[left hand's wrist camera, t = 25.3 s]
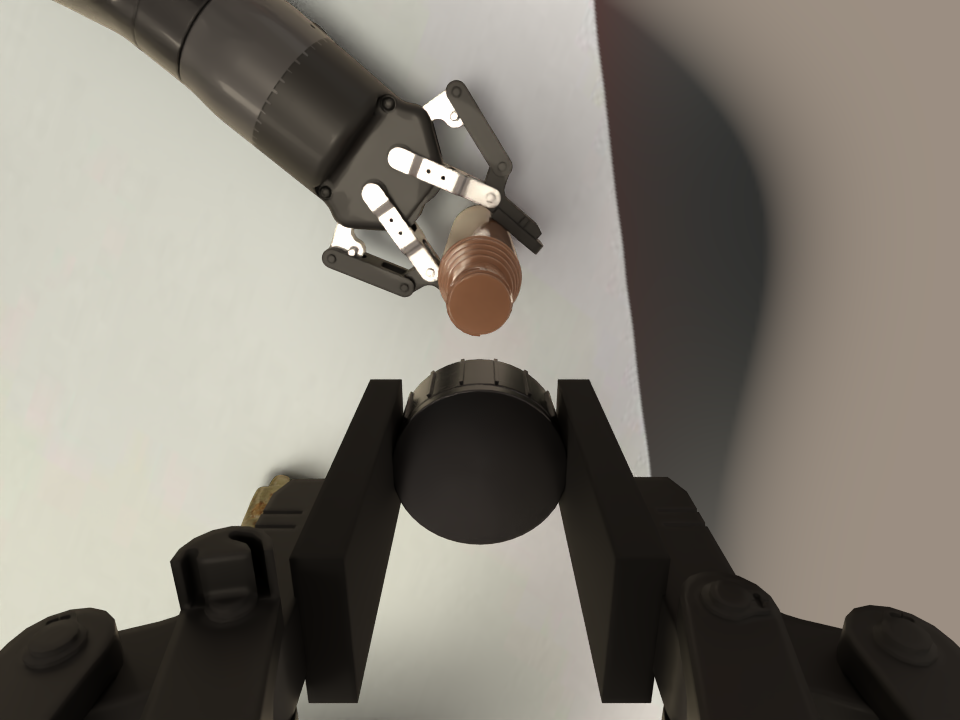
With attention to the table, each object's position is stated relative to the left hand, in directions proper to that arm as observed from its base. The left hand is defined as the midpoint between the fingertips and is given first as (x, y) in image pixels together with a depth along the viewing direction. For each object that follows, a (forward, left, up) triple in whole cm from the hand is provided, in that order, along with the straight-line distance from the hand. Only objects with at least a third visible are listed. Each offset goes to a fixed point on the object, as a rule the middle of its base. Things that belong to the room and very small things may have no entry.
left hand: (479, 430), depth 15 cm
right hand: (-2, -2, -24) cm, 24 cm away
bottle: (0, 0, -31) cm, 31 cm away
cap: (0, 0, +2) cm, 2 cm away
